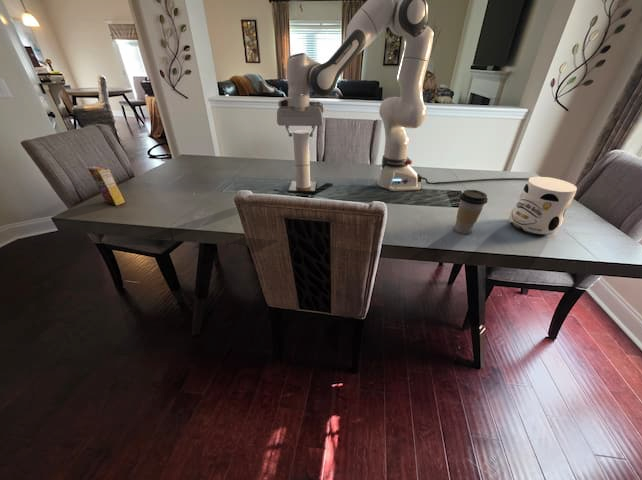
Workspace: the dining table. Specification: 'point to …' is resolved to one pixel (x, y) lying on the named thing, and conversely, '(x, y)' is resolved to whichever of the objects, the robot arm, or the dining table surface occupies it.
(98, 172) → the candy box
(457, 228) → the coffee cup
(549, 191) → the milk container
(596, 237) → the dining table surface
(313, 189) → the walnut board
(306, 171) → the cylindrical container
